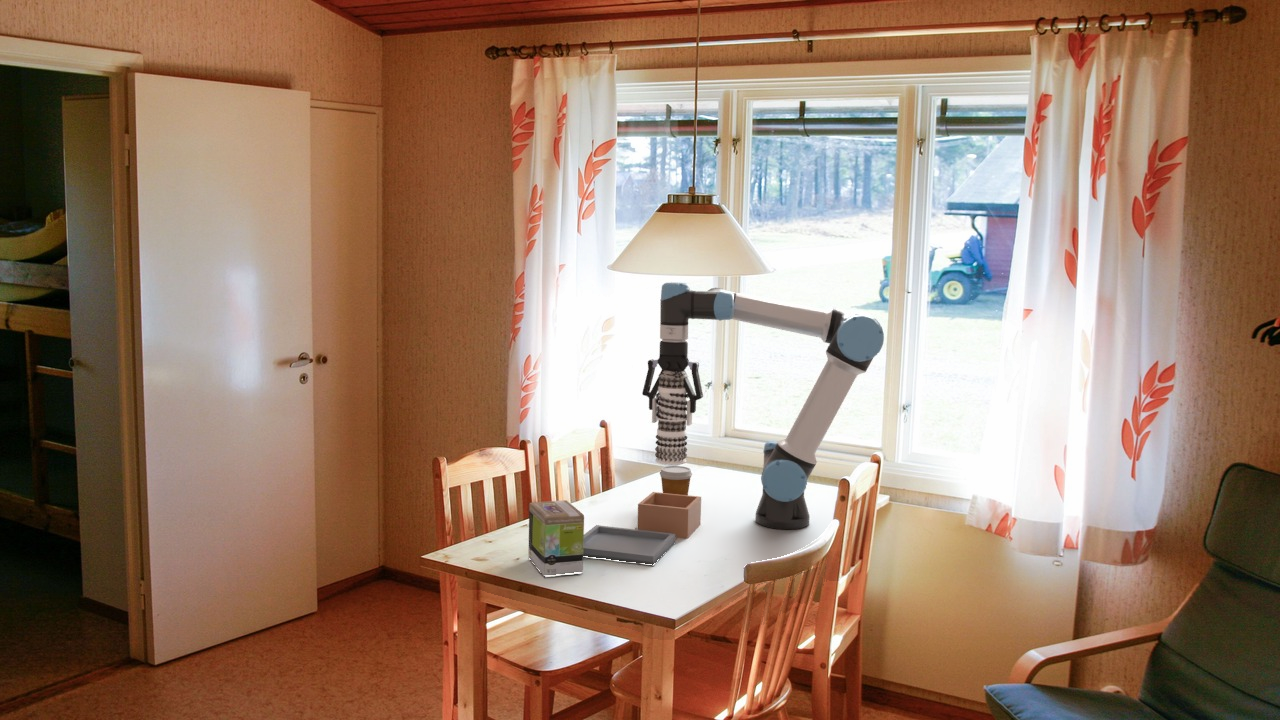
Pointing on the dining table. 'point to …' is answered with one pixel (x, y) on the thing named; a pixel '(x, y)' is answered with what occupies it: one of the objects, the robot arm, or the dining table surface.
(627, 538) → the slate tray
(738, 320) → the robot arm
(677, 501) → the terracotta holder
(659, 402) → the decorative candle
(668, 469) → the disposable coffee cup
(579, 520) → the tea box
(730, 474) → the dining table surface
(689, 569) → the dining table surface
